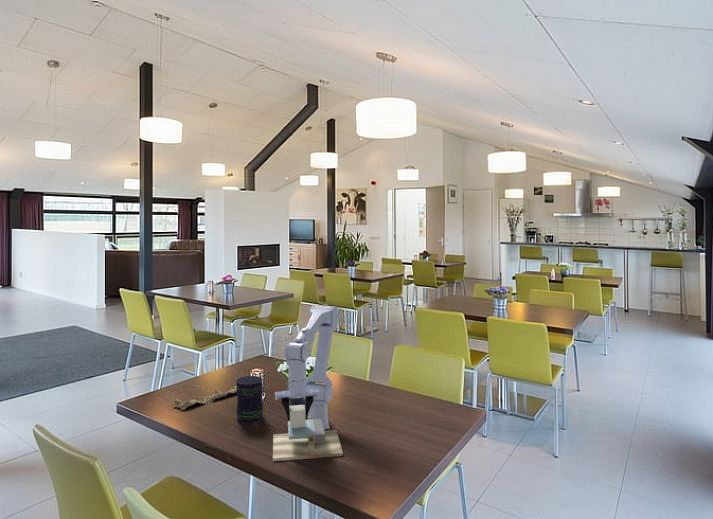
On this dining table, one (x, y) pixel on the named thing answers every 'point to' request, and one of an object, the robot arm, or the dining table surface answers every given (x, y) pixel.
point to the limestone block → (297, 416)
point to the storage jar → (249, 399)
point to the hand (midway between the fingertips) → (297, 419)
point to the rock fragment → (206, 399)
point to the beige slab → (305, 447)
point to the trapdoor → (308, 431)
